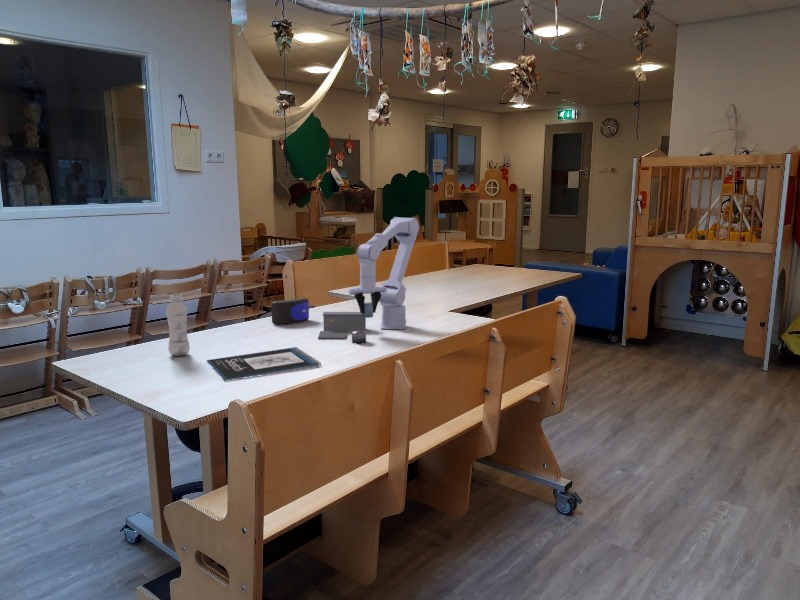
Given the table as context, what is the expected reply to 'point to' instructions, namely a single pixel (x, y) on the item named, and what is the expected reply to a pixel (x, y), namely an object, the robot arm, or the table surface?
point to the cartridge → (368, 310)
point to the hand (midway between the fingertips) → (367, 312)
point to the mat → (332, 335)
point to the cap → (359, 336)
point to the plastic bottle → (177, 326)
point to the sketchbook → (262, 363)
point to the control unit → (344, 321)
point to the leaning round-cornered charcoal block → (290, 311)
